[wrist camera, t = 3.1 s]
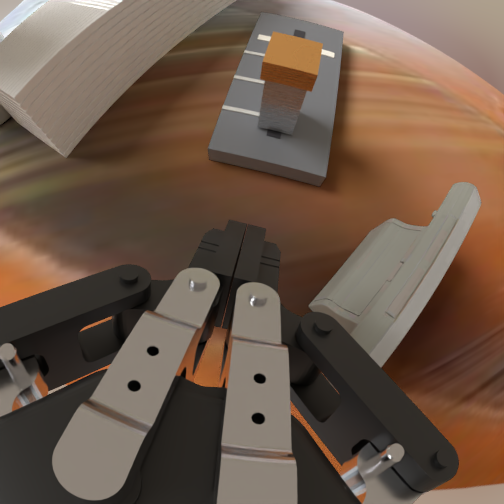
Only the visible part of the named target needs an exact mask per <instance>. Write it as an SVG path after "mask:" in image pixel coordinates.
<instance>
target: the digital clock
mask: <svg viewBox="0 0 504 504" xmlns="http://www.w3.org/2000/svg"><path fill="white" fill-rule="evenodd" d="M480 205H481V200H480V196H479V193H478V190H477V188H476V187H475V186H474V185H473V184H471V183H467V182H460V183H455V184H453V186H452V187H451V189H450V191H449V193H448V194H447V196H446V198H445V199H444V201H443V203H442V204H441V206H440V208H439V209H438V211H436V210H435V211H434V212H433V214H432V215H431V216H432V217H433V219H432V221H431V222H430V224H429V226H426V227H425V226H415V225H409V224H405V223H403V222H401V221H399V220H397V219H395V218H391V219H389V220H387V221H385V222H383V223H382V224H380V225H379V226H377V227H376V228H374V229H373V230H371V231H370V232H369V233H368V235H367V236H366V237H365V239H364V240H363V241H362V242H361V244H360V245H359V246H358V247H357V249H356V250H355V251H354V252H353V253H352V255H351V256H350V257H349V258H348V260H347V261H346V262H345V263H344V264H343V266H342V267H341V268H340V269H339V270H338V272H337V273H336V274H335V275H334V276H333V278H332V279H331V280H330V281H329V282H328V283H327V285H326V286H325V287H324V288H323V289H322V290H321V292H320V293H319V294H318V295H317V296H316V297H315V299H314V300H313V301H312V302H311V303H310V304H309V308H310V309H311V310H312V311H313V312H321V313H325V314H327V315H330V316H331V317H333V318H334V319H335V320H337V321H338V322H339V324H340V325H341V326H342V327H343V328H344V329H345V330H346V331H347V332H348V333H349V334H350V335H351V336H352V337H353V338H354V339H355V341H356V342H357V343H358V344H359V345H360V346H361V347H362V348H363V349H364V350H365V351H366V352H367V353H368V354H369V356H370V357H371V358H372V359H373V360H374V361H375V362H376V363H377V364H378V365H379V366H380V367H382V366H383V365H384V363H385V362H386V361H387V359H388V358H389V357H390V355H391V354H392V353H393V351H394V350H395V349H396V347H397V346H398V345H399V343H400V342H401V341H402V339H403V338H404V336H405V335H406V334H407V332H408V331H409V329H410V328H411V326H412V325H413V323H414V322H415V321H416V319H417V318H418V316H419V315H420V313H421V312H422V310H423V309H424V307H425V305H426V304H427V302H428V301H429V299H430V298H431V296H432V294H433V293H434V291H435V290H436V288H437V286H438V285H439V283H440V281H441V280H442V278H443V276H444V275H445V273H446V271H447V270H448V268H449V266H450V264H451V263H452V261H453V259H454V257H455V255H456V254H457V252H458V250H459V248H460V246H461V244H462V242H463V240H464V239H465V237H466V235H467V233H468V231H469V229H470V227H471V225H472V223H473V221H474V219H475V217H476V214H477V212H478V210H479V208H480ZM407 280H408V281H407ZM405 283H406V284H405ZM403 286H404V287H403ZM398 293H399V294H398ZM396 296H397V297H396ZM393 300H394V301H393ZM388 307H389V308H388ZM385 311H386V312H385ZM328 382H329V383H330V381H329V380H328ZM330 384H331V383H330ZM331 385H332V384H331ZM332 386H333V385H332ZM333 387H334V386H333ZM334 388H335V387H334Z"/></svg>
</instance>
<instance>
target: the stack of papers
mask: <svg viewBox="0 0 504 504" xmlns="http://www.w3.org/2000/svg"><path fill="white" fill-rule="evenodd" d="M235 1H237V0H49V1H48V2H46V3H45V4H44V5H43V6H41V7H40V8H39V9H38V10H36V11H35V12H34V13H33V14H32V15H30V16H29V17H28V18H27V19H26V20H25V21H23V22H22V23H21V24H20V25H19V26H18V27H17V28H16V29H14V30H13V31H12V32H11V33H10V34H9V35H8V36H7V37H6V38H5V39H4V40H3V41H2V42H1V43H0V104H1V105H2V106H3V107H4V108H5V109H6V111H8V113H9V114H10V115H11V116H12V117H13V118H14V119H15V120H16V122H17V123H18V124H20V125H21V126H23V127H24V128H25V129H27V130H28V131H29V132H31V133H32V134H33V135H35V136H36V137H38V138H39V139H40V140H42V141H43V142H44V143H46V144H47V145H49V146H50V147H51V148H53V149H54V150H56V151H57V152H58V153H60V154H61V155H62V156H64V157H65V158H67V156H68V155H69V154H70V153H71V151H72V150H73V149H74V148H75V146H76V145H77V144H78V143H79V142H80V140H81V139H82V138H83V137H84V136H85V134H86V133H87V132H88V131H89V130H90V129H91V127H92V126H93V125H94V124H95V123H96V122H97V121H98V120H99V118H100V117H101V116H102V115H103V114H104V113H105V112H106V111H107V110H108V109H109V108H110V107H111V105H112V104H113V103H114V102H115V101H116V100H117V99H118V98H119V97H120V96H121V95H122V94H123V93H124V92H125V91H126V90H127V89H128V88H129V87H130V86H131V85H132V84H133V83H134V82H135V81H136V80H137V79H138V78H140V77H141V76H142V75H143V74H144V73H145V72H146V71H147V70H148V69H149V68H150V67H151V66H153V65H154V64H155V63H156V62H157V61H158V60H159V59H160V58H162V57H163V56H164V55H165V54H166V53H167V52H169V51H170V50H171V49H172V48H173V47H174V46H176V45H177V44H178V43H179V42H181V41H182V40H183V39H184V38H186V37H187V36H188V35H189V34H191V33H192V32H193V31H195V30H196V29H197V28H198V27H200V26H201V25H202V24H204V23H205V22H206V21H208V20H209V19H211V18H212V17H213V16H215V15H216V14H218V13H219V12H220V11H222V10H223V9H225V8H226V7H228V6H229V5H231V4H232V3H234V2H235Z"/></svg>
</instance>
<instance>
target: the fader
mask: <svg viewBox="0 0 504 504" xmlns="http://www.w3.org/2000/svg"><path fill="white" fill-rule="evenodd" d="M322 46H323V44H322V43H319V42H315V41H312V40H308V39H304V38H300V37H296V36H292V35H287V34H283V33H278V32H273V33H272V36H271V39H270V42H269V44H268V47H267V50H266V53H265V56H264V59H263V62H262V69H261V76H260V79H261V80H265V82H264V88H263V95H262V101H261V108H260V114H259V120H258V127H261V128H265V129H270V130H274V131H278V132H282V133H286V134H290V135H292V134H293V131H294V128H295V125H296V122H297V119H298V116H299V113H300V110H301V107H302V104H303V101H304V98H305V95H306V92H307V91H310V92H312V90H313V87H314V84H315V81H316V79H317V76H318V70H319V65H320V59H321V53H322Z"/></svg>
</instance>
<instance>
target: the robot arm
mask: <svg viewBox="0 0 504 504" xmlns="http://www.w3.org/2000/svg"><path fill="white" fill-rule="evenodd" d="M4 39H5V38H4V37H3V35H2V34H1V32H0V43H1V42H2V41H3V40H4ZM10 117H11V115H10V114H9V113H8V111H6V109H5V108H4V107H3V106H2V105H1V104H0V125H1V124H2V123H4V122H5V121H6V120H8V119H9V118H10ZM246 226H247V224H245V223H241V222H237V221H233V220H229V221H228V224H227V226H226V229H225V231H222V230H218V229H214V228H213V229H212V230H210V231H208V232H207V233H205V235H204V237H203V239H202V241H201V243H200V245H199V247H198V249H197V251H196V253H195V255H194V257H193V259H192V261H191V263H190V265H189V267H188V269H185V270H183V271H181V272H180V273H179V274H178V275H177V276H176V278H175V279H173V280H167V281H161V280H151V276H150V274H149V272H148V271H147V270H146V269H144V268H142V267H140V266H137V265H121V266H118V267H115V268H112V269H109V270H106V271H103V272H100V273H97V274H94V275H91V276H88V277H85V278H82V279H79V280H76V281H73V282H71V283H68V284H65V285H62V286H59V287H56V288H53V289H50V290H48V291H45V292H42V293H39V294H36V295H33V296H31V297H28V298H25V299H22V300H19V301H17V302H14V303H11V304H8V305H6V306H3V307H0V504H413V503H414V502H415V501H416V500H417V499H418V498H419V497H420V496H421V495H422V494H424V493H426V492H428V491H430V490H432V489H434V488H436V487H438V486H439V485H441V484H443V483H445V482H447V481H449V480H450V479H452V478H453V477H454V476H455V474H456V472H457V470H458V465H459V460H458V455H457V452H456V450H455V449H454V447H453V446H452V445H451V444H450V443H449V442H448V440H447V439H446V438H445V437H444V436H443V435H442V434H441V433H440V432H439V430H438V429H437V428H436V427H435V426H434V425H433V424H432V423H431V422H430V421H429V419H428V418H427V417H426V416H425V415H424V414H423V413H422V412H421V411H420V410H419V409H418V407H417V406H416V405H415V404H414V403H413V402H412V401H411V400H410V399H409V398H408V397H407V395H406V394H405V393H404V392H403V391H402V390H401V389H400V388H399V387H398V386H397V385H396V384H395V382H394V381H393V380H392V379H391V378H390V377H389V376H388V375H387V374H386V373H385V372H384V371H383V369H382V368H381V367H380V366H379V365H378V364H377V363H376V362H375V361H374V360H373V359H372V358H371V357H370V356H369V354H368V353H367V352H366V351H365V350H364V349H363V348H362V347H361V346H360V345H359V344H358V343H357V342H356V341H355V339H354V338H353V337H352V336H351V335H350V334H349V333H348V332H347V331H346V330H345V329H344V328H343V327H342V326H341V325H340V324H339V322H338V321H337V320H335V319H334V318H333V317H331V316H330V315H327V314H325V313H321V312H310V313H307V314H305V315H304V316H303V317H300V316H298V315H296V314H294V313H292V312H290V311H289V310H287V309H286V308H285V307H284V306H283V305H282V304H281V303H280V298H279V295H278V294H277V289H278V278H279V266H280V253H281V252H280V250H279V248H278V247H277V245H276V244H274V243H270V242H266V241H264V238H265V232H266V229H265V228H261V227H257V226H253V225H249V224H248V228H247V231H246V235H245V239H244V234H245V230H246ZM243 239H244V242H243ZM242 243H243V246H242ZM241 247H242V249H241ZM240 251H241V253H240ZM239 255H240V257H239ZM232 282H233V283H232ZM231 286H232V287H231ZM230 290H231V292H230ZM229 293H230V296H229ZM228 297H229V300H228ZM227 301H228V305H227V309H226V313H225V318H224V322H223V326H222V328H224V329H227V333H226V337H225V341H224V345H223V351H222V358H221V365H220V373H219V380H218V387H203V386H200V385H197V384H195V383H193V380H194V378H195V375H196V373H197V370H198V368H199V365H200V363H201V360H202V358H203V355H204V353H205V350H206V348H207V345H208V342H209V338H210V337H211V335H212V332H213V329H214V326H216V327H221V323H222V319H223V316H224V312H225V308H226V304H227ZM110 316H112V319H111V320H108V321H106V322H103V323H101V324H98V325H96V326H93V327H91V328H88V329H86V330H83V331H81V332H80V330H81V329H82V328H84V327H85V326H88V325H90V324H93V323H95V322H98V321H100V320H103V319H105V318H108V317H110ZM109 364H111V365H110V367H109V368H108V369H105V370H101V371H98V372H95V373H93V374H91V375H89V376H86V377H84V378H82V379H80V380H78V381H76V382H74V383H72V384H70V385H68V386H66V387H64V388H62V389H59V390H58V391H55V392H53V393H51V394H49V395H47V394H48V391H50V390H53V389H55V388H57V387H60V386H62V385H64V384H67V383H69V382H71V381H73V380H76V379H78V378H80V377H83V376H85V375H87V374H89V373H92V372H94V371H96V370H98V369H100V368H103V367H105V366H107V365H109ZM321 372H322V373H323V374H324V375H325V377H326V378H327V379H328V380H329V381H330V383H331V384H332V385H333V386H334V387H335V389H336V390H337V391H338V392H337V391H336V390H335V389H334V388H333V386H332V385H331V384H330V383H329V382H328V380H327V379H326V378H325V377H324V376H323V374H322V373H321ZM338 393H339V394H340V395H339V394H338ZM290 400H291V401H292V403H293V404H294V405H295V407H296V408H297V409H298V411H299V412H300V413H301V415H302V416H303V417H304V419H305V420H306V421H307V423H308V424H309V425H310V426H311V428H312V429H313V430H314V432H315V433H316V434H317V435H318V437H319V438H320V439H321V441H322V442H323V443H324V444H325V446H326V447H327V448H328V449H329V451H330V452H331V453H332V454H333V456H334V457H335V458H336V459H337V461H338V462H339V463H340V464H341V466H342V467H341V470H340V475H339V473H338V472H337V471H336V469H335V468H334V467H333V465H332V464H331V463H330V461H329V460H328V459H327V457H326V456H325V454H324V453H323V452H322V450H321V449H320V448H319V446H318V445H317V444H316V442H315V441H314V439H313V438H312V437H311V435H310V434H309V432H308V431H307V430H306V428H305V427H304V426H303V425H302V424H301V423H300V422H299V421H298V420H297V419H296V418H295V417H294V416H293V415H291V408H290Z"/></svg>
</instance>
